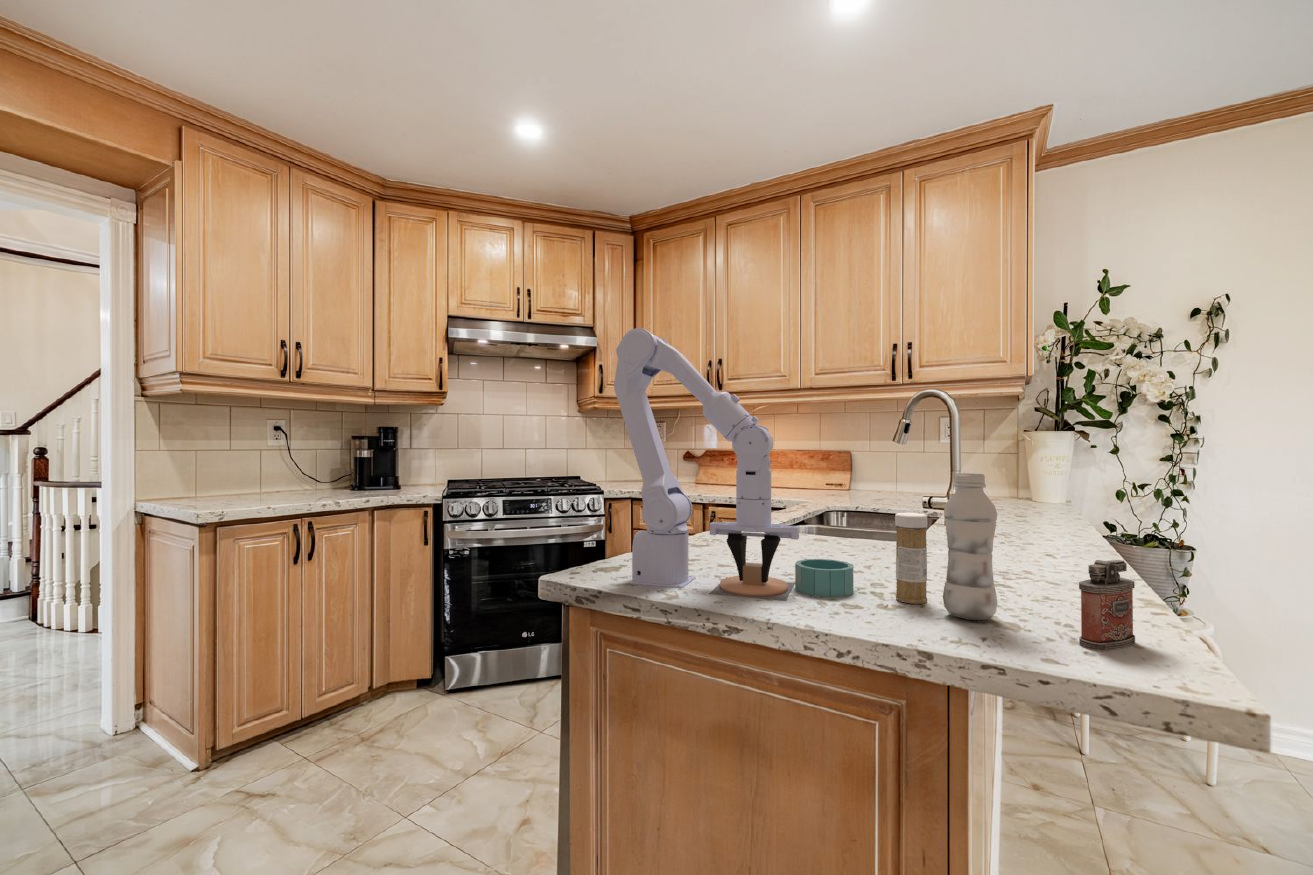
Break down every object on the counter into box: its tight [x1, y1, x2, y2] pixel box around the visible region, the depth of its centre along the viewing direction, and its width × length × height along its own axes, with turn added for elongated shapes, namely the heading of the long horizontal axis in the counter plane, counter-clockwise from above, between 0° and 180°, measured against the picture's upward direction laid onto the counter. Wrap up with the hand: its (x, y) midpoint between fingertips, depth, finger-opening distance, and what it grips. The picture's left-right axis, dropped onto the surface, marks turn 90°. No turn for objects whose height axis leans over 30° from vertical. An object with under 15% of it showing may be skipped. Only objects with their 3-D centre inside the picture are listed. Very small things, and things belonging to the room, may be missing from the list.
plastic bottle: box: [942, 472, 998, 621], centre depth 81 cm, size 6×7×20 cm
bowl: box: [794, 558, 854, 598], centre depth 95 cm, size 9×9×4 cm
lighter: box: [1078, 559, 1136, 652], centre depth 70 cm, size 8×3×10 cm, turn 114°
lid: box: [719, 562, 788, 597], centre depth 96 cm, size 11×11×4 cm
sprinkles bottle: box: [894, 512, 928, 605], centre depth 90 cm, size 5×5×14 cm
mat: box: [708, 576, 795, 602], centre depth 96 cm, size 12×12×1 cm
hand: (753, 580), depth 96 cm, fingers closed on lid, 3 cm apart
